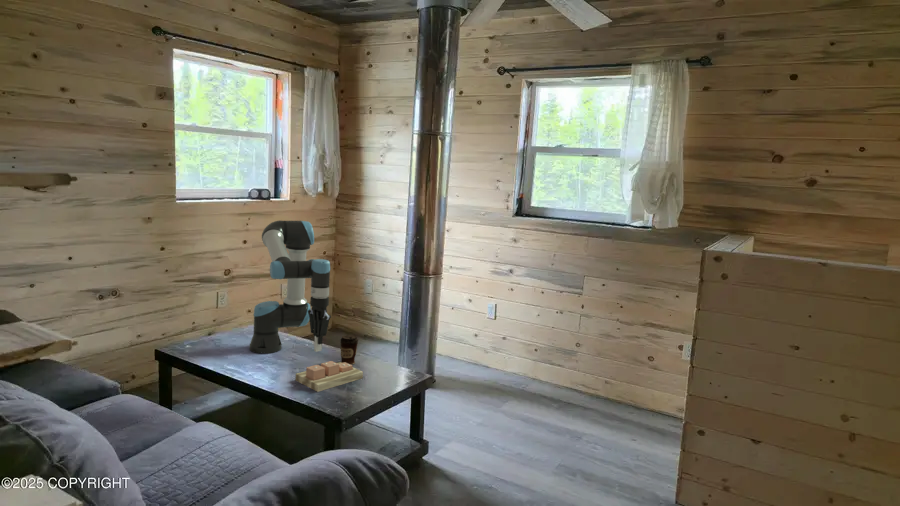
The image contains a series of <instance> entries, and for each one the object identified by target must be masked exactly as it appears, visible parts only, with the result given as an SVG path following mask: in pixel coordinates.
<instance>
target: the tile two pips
mask: <svg viewBox="0 0 900 506" xmlns="http://www.w3.org/2000/svg"><path fill="white" fill-rule="evenodd" d="M337 363H338V362H335V361H333V360H330V361H326V362H322V363H320V366H322V367H324V368H325V375H326V376H328V377H329V376H333V375H336V374H339V364H337Z"/></svg>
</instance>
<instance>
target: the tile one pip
mask: <svg viewBox="0 0 900 506" xmlns="http://www.w3.org/2000/svg"><path fill="white" fill-rule="evenodd" d="M305 371H306V377H307V378H309V379H311V380H313V381H315V380H319V379H322V378H325V368H324V367H322V366H321V365H319V364H315V365H311V366H306V370H305Z"/></svg>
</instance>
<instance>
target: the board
mask: <svg viewBox="0 0 900 506" xmlns="http://www.w3.org/2000/svg"><path fill="white" fill-rule="evenodd" d="M336 363H337V364H340V363H342V362H341V361H339V362H336ZM294 379H295V382H297V383H300V384H302V385H304V386H305V387H306V388H307V387H308V388H310V389H311V390H313V391H315V392H317V393H319V392H322V391H326V390H328V389H332V388H335V387H338V386H341V385H345V384H349V383H352V382H354V381H358V380H361V379H364V372H363V371H362V370H360V369H358V368H356V367H353V370H350V371H347V372H343V373H342V372H340V371H339V374H336V375H333V376H329V377H328V376H326V375H325V378H322V379H319V380H315V381H313V380H311V379H309V378H307V377H306V370H305V371H302V372H298V373H295V378H294Z"/></svg>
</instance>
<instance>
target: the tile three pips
mask: <svg viewBox="0 0 900 506" xmlns="http://www.w3.org/2000/svg"><path fill="white" fill-rule="evenodd" d="M353 368H354V366H353V364H352V365H350V364H348V363H346V362H344V363H340V364H339V371H340V372H342V373H343V372H347V371H350V370H353Z"/></svg>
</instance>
